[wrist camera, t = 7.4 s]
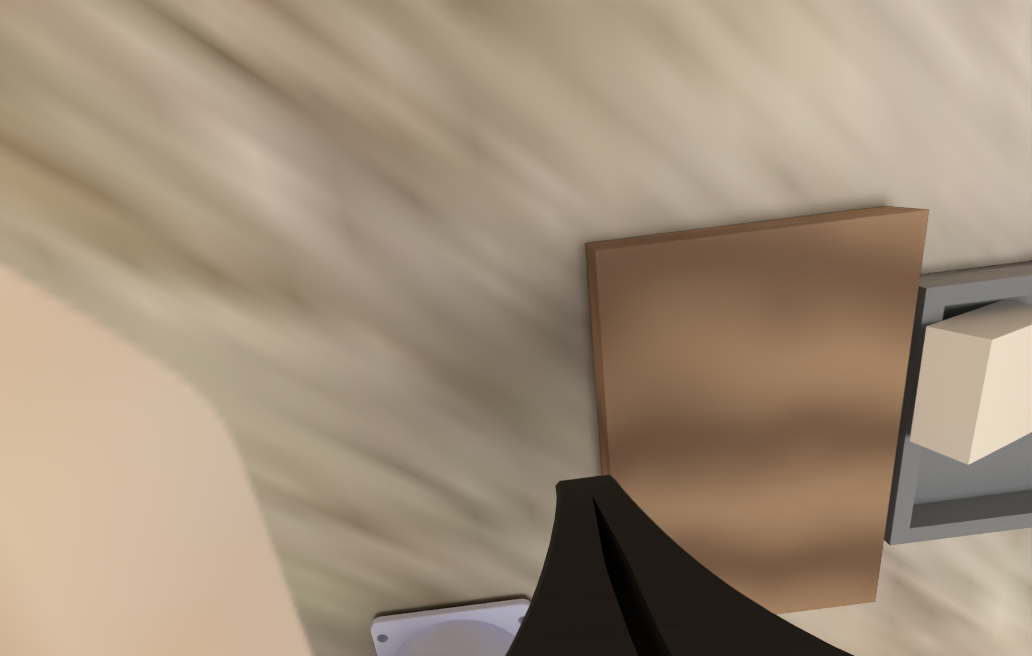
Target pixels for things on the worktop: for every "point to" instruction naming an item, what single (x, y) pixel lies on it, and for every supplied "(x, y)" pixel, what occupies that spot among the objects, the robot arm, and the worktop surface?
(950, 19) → the worktop surface
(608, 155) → the worktop surface
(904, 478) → the tray
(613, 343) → the board
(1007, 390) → the block
